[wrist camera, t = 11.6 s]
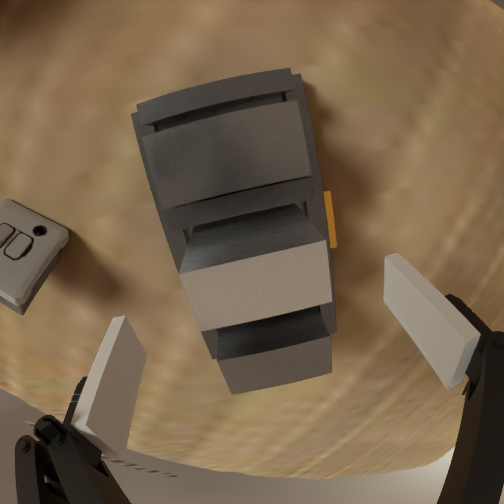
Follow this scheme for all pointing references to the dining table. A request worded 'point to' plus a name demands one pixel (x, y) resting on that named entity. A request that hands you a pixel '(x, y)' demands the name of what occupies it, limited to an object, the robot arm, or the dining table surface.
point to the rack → (243, 203)
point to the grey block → (255, 267)
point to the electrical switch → (26, 253)
